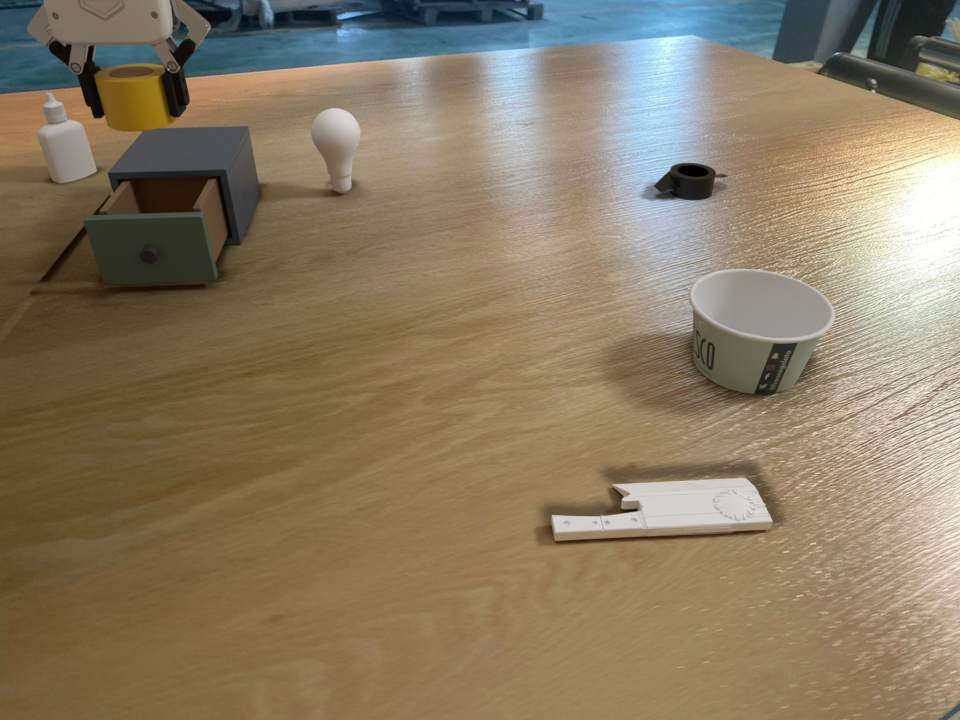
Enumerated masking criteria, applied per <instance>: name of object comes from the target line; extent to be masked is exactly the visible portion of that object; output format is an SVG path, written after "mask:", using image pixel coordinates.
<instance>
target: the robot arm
mask: <svg viewBox="0 0 960 720" xmlns="http://www.w3.org/2000/svg"><path fill="white" fill-rule="evenodd" d="M181 23H182V24H184V25H185V26H186V27H187V29H188V32H187V34H186V36H185V37H184V39H183V40H182V41H181V42H180V44H178V43H177V41H176V39H175V38H174V37H173V35H172V34H173V33H175V32H177V31H178V30H179V29H180V27H181ZM211 29H212V28H211V23H210V21H208V20H207V19H206V18H205V17H203V16H202V15H201V14H200V13H199V12H197V11H196V10H195V9H194V8H193V7H192V6H190V5H189V4H188V3H186V1H184V0H43V2H42V5H41V6H40V7H39V9H38V10H37V12H36V13H35V14H34V16H33V17H32V18H31V20H30V22H29V23H28V24H27V26H26V31H27V33H28V34H29V35H30V36H31V37H33V39H35V40H36V41H37V42H39V43H40V44H41V45H42V46H44V47H45V48H47V49H48V50H49V52H50V53H51V54H52V55H53V56H54V57H55V58H56V59H58V60H59V61H61V62H62V63H63V64H64V65H66V66H67V67H68V68H69V69H68V70H69V71H70V72H71V73H72V74H74V75H75V76H76V75H77V80H78V82H79V86H80V89H81V93H82V96H83V97H82V98H83V99H84V103H85V105H86V107H88V108H90V111H91V114H92V117H93V119H96V120H97V119H99V120H100V119H102V118H104V117H105V114H104V111H103V107H102V104H101V100H100V97H99V93H98V89H97V86H96V82H95V79H94V75H95V73H97V72H98V71H100V70H103V69H102V68H100V65H96V62H95V56H96V50H97V46H145V45H146V46H150V47H151V49H152V50H153V51H154V53H155V54H156V56H157V57H158V59H159V60H160V62H161V63H162V66H164V68H165V72H164V73H163V74H162V80H163V84H164V89H165V93H166V97H167V102H168V106H169V111H170V115H171V116H173V117H178V118H180V117H181V116H182V115H183V113H184V112H185V111H186V110H187V106H189V104H190V103H191V102H190V99H191V98H190V92H189V88H188V84H187V78H186V74H185V70H184V69H185V68H184V67H185V65H186V64H187V62H188V61H189V60H190V59H191V57H192V56H193V54H194V53H195V52H196V51H197V50H198V47H199V46H200V45H201V43H202V42H203V40H204V39H205V38H206V36H207V35H208V33H209V32H210V30H211Z"/></svg>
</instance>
